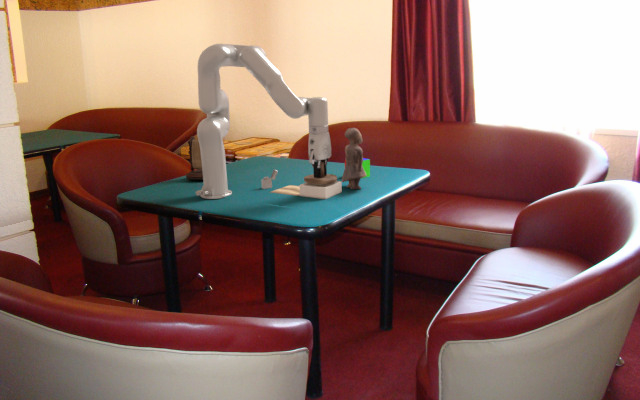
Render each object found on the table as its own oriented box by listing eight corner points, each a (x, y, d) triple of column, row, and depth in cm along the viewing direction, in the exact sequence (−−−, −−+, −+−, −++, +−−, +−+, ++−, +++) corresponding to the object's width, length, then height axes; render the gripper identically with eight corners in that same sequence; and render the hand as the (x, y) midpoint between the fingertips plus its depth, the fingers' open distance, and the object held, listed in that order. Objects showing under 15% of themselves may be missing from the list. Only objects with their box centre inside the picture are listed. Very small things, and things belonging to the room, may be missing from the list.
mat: (297, 197, 222) (297, 195, 222) (269, 193, 229) (269, 192, 229) (317, 189, 233) (317, 188, 233) (289, 186, 241) (289, 185, 241)
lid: (325, 185, 213) (325, 166, 211) (297, 181, 220) (296, 163, 218) (343, 178, 224) (342, 160, 222) (315, 175, 230) (314, 158, 229)
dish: (325, 200, 215) (325, 187, 214) (299, 197, 222) (299, 184, 220) (341, 193, 225) (341, 181, 224) (316, 190, 231) (316, 178, 230)
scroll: (180, 182, 257) (176, 138, 252) (195, 175, 271) (191, 133, 266) (210, 182, 254) (206, 138, 249) (223, 175, 268) (220, 133, 263)
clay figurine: (372, 189, 229) (371, 128, 223) (350, 193, 225) (349, 130, 219) (357, 184, 241) (356, 125, 234) (336, 186, 237) (334, 127, 231)
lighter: (263, 190, 236) (262, 171, 234) (261, 189, 237) (260, 170, 235) (278, 188, 238) (277, 169, 237) (277, 187, 240) (276, 168, 238)
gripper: (315, 133, 208) (316, 181, 213) (337, 127, 221) (339, 173, 226) (298, 132, 212) (300, 180, 217) (321, 126, 225) (323, 172, 230)
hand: (320, 176), depth 221 cm, fingers closed on lid, 3 cm apart
